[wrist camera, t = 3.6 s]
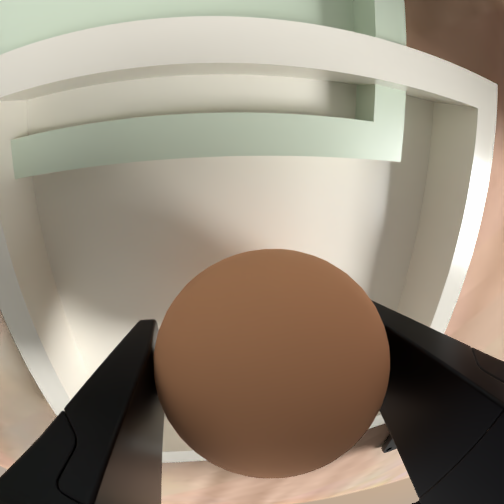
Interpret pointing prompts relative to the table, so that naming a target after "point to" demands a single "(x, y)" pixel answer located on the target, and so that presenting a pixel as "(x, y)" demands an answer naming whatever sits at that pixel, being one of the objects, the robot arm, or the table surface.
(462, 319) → the table surface
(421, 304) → the white square open box
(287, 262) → the ball
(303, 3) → the tray
